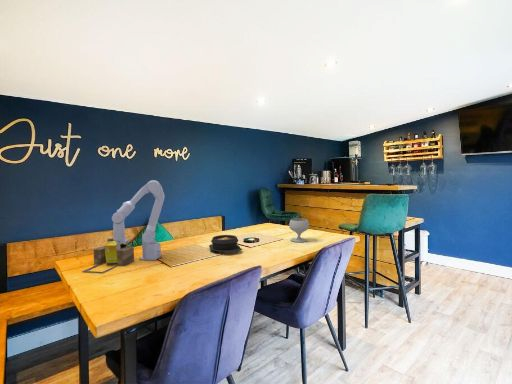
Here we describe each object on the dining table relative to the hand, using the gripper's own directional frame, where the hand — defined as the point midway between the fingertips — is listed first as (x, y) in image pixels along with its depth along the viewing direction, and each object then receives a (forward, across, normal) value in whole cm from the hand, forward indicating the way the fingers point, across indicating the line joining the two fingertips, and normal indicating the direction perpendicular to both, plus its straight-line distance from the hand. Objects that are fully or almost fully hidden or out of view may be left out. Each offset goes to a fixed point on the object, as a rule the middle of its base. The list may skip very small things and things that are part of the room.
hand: (120, 258), depth 157 cm
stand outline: (+1, +15, 0) cm, 15 cm away
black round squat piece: (+1, -28, +52) cm, 59 cm away
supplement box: (+1, +5, 0) cm, 5 cm away
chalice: (+1, -62, +97) cm, 115 cm away
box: (+1, -6, -7) cm, 9 cm away
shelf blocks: (+1, +5, 0) cm, 5 cm away
